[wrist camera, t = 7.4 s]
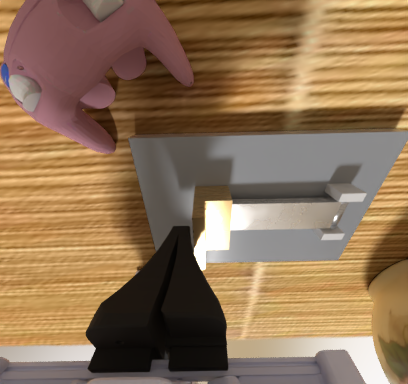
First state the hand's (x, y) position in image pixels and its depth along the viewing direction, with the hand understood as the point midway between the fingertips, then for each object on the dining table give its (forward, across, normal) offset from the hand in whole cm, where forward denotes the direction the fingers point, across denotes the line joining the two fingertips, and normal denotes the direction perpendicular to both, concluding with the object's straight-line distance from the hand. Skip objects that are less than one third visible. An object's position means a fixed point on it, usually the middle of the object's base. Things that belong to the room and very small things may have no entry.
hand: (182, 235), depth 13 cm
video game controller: (+5, +4, -10) cm, 12 cm away
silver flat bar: (+3, -8, 0) cm, 9 cm away
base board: (+5, -7, 0) cm, 9 cm away
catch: (+3, -2, 0) cm, 4 cm away
